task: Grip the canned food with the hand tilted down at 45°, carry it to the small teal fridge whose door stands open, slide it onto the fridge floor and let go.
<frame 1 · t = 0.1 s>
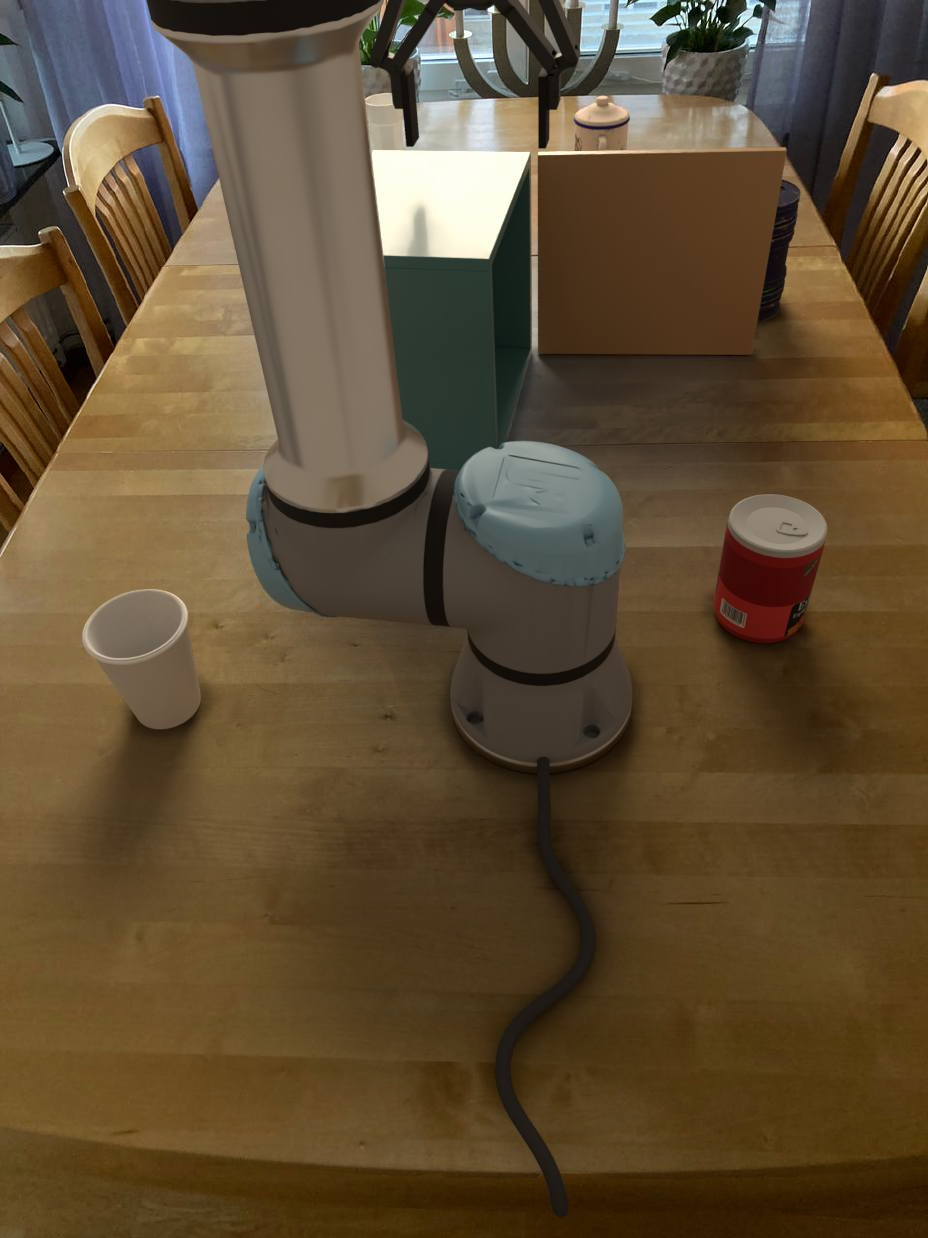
hand: (477, 143, 99), 28 cm above the table, tool pointing down, fingers open, 13 cm apart
teacup with lid: (599, 176, 163), on the table
fridge: (441, 405, 116), on the table
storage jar: (741, 306, 129), on the table
fridge door: (650, 248, 115), point 12 cm above the table, hinge at 95.0°
canned food: (756, 617, 88), on the table
dixie cup: (169, 705, 84), on the table
cup: (390, 168, 171), on the table
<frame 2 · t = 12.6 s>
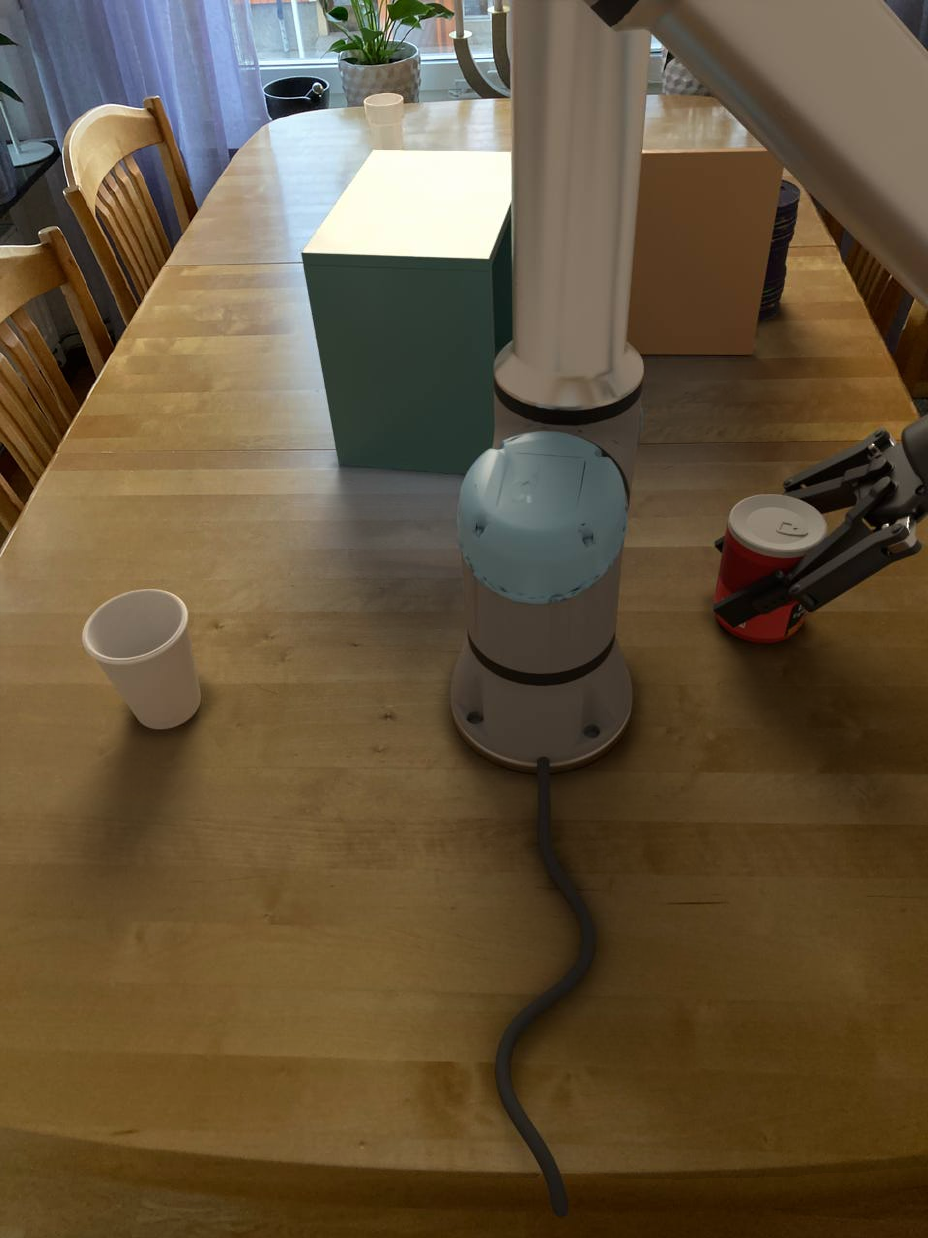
hand: (723, 583, 86), 4 cm above the table, tool tilted 45°, fingers closed on canned food, 8 cm apart
canned food: (756, 616, 88), on the table, touching gripper
everything else where it was.
when the fingers open (5 cm above the table, at t = 27.4 s): canned food stays where it is, resting on fridge.
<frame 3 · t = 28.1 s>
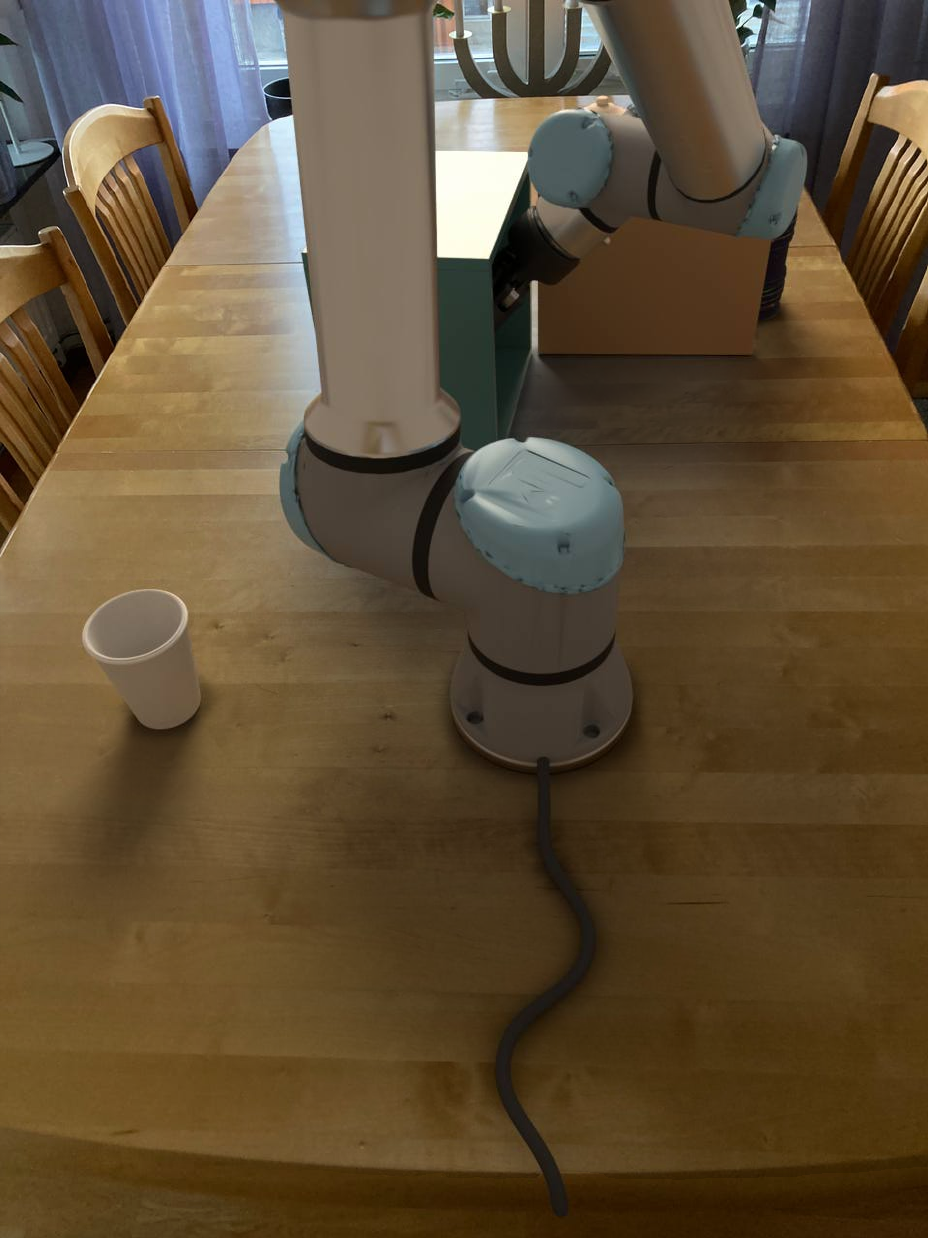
hand: (426, 357, 111), 6 cm above the table, tool tilted 45°, fingers open, 13 cm apart
canned food: (450, 398, 115), point 1 cm above the table, touching fridge
everything else where it was.
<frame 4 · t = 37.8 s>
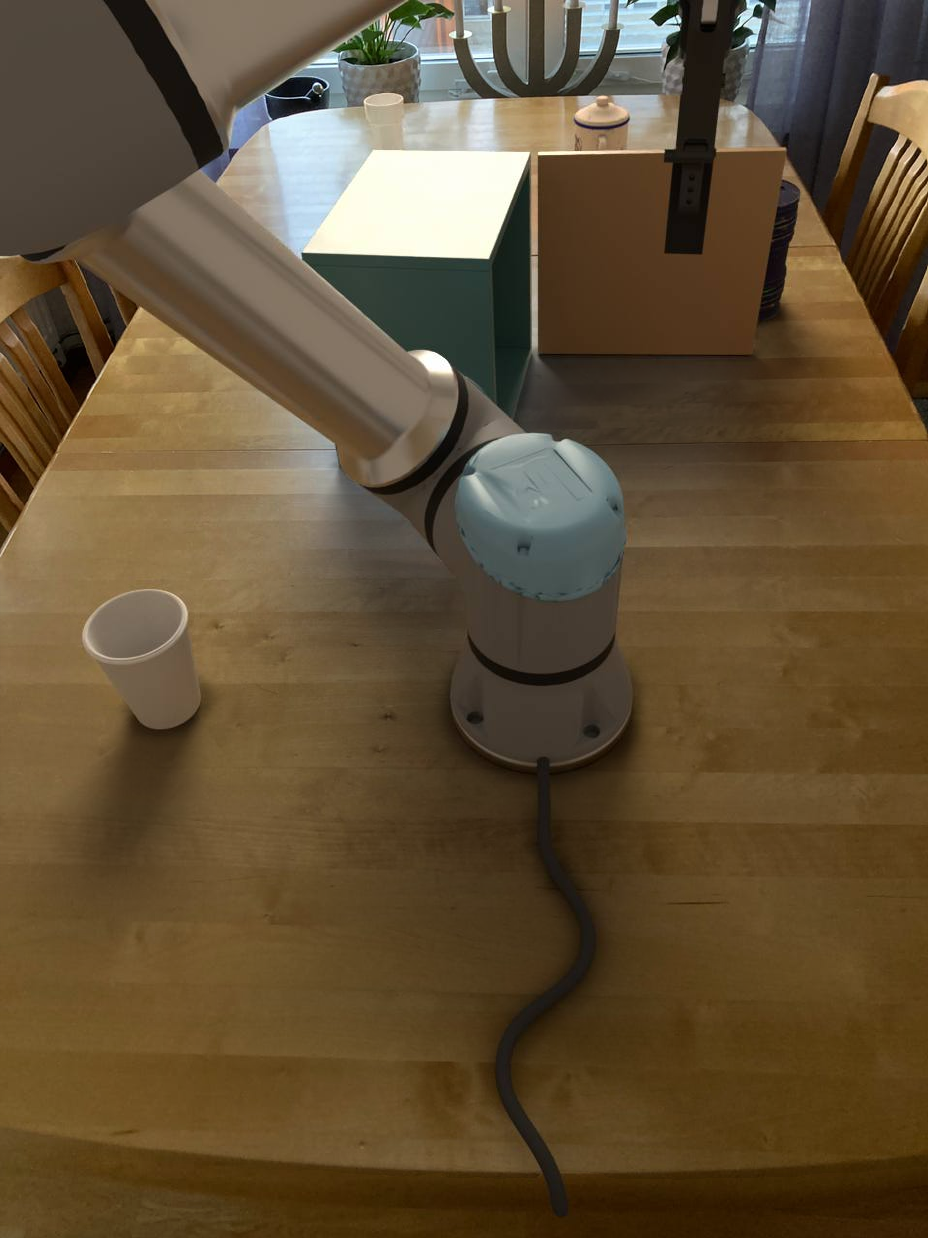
hand: (686, 213, 75), 32 cm above the table, tool pointing down, fingers open, 13 cm apart
nothing on the table moved.
at the end: canned food inside the target area in the fridge (1.1 cm from its centre), point 1.0 cm above the fridge's base; canned food tilted 0°; the gripper is holding nothing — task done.
